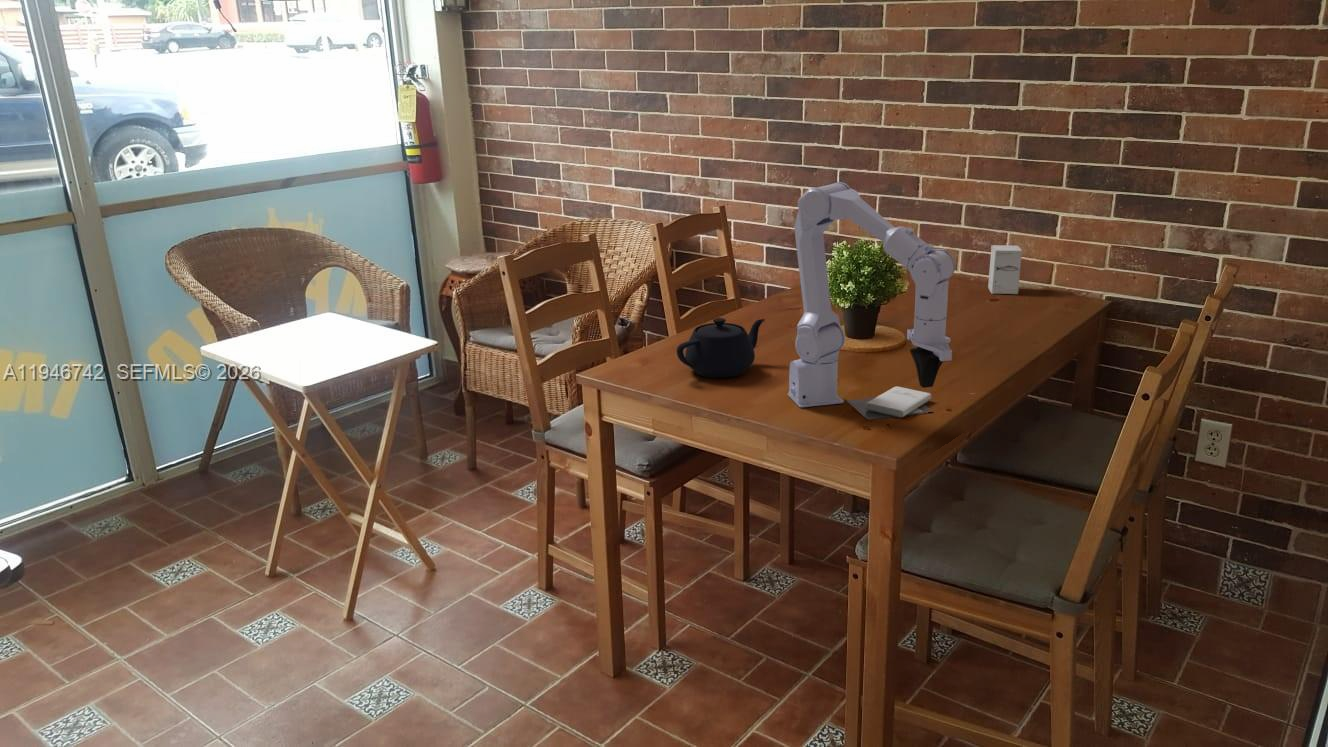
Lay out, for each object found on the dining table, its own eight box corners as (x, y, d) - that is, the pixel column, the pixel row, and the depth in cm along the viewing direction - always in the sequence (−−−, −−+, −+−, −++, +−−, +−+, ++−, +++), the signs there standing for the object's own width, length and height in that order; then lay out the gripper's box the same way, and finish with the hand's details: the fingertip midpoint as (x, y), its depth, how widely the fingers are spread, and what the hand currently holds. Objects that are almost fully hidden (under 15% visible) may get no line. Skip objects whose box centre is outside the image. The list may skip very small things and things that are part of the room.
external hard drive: (865, 409, 204) (894, 392, 214) (903, 418, 200) (931, 400, 209) (865, 402, 204) (894, 385, 213) (903, 410, 199) (931, 392, 208)
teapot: (700, 391, 218) (699, 336, 214) (657, 373, 230) (656, 321, 226) (787, 367, 232) (788, 314, 228) (742, 351, 244) (742, 301, 240)
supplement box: (991, 294, 287) (994, 250, 283) (987, 288, 294) (991, 244, 290) (1018, 294, 285) (1022, 250, 281) (1014, 288, 292) (1018, 244, 288)
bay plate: (867, 419, 200) (867, 419, 200) (846, 400, 210) (846, 400, 210) (933, 412, 202) (933, 411, 202) (909, 394, 213) (909, 393, 213)
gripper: (969, 325, 183) (964, 396, 187) (932, 305, 196) (928, 372, 201) (932, 328, 182) (928, 400, 186) (898, 308, 195) (895, 375, 199)
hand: (926, 386), depth 193 cm, fingers closed
